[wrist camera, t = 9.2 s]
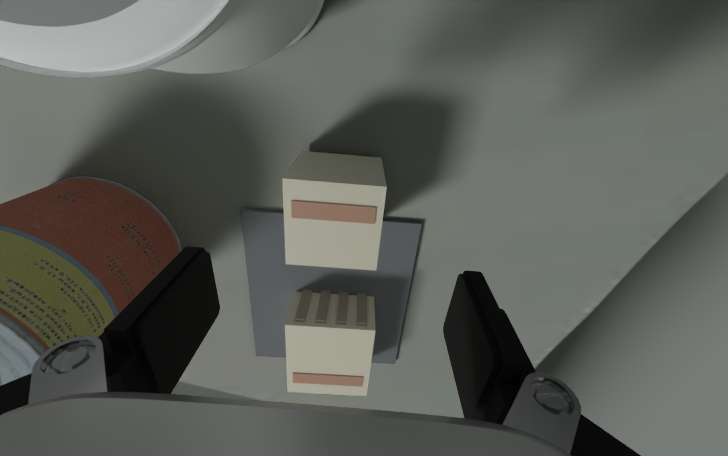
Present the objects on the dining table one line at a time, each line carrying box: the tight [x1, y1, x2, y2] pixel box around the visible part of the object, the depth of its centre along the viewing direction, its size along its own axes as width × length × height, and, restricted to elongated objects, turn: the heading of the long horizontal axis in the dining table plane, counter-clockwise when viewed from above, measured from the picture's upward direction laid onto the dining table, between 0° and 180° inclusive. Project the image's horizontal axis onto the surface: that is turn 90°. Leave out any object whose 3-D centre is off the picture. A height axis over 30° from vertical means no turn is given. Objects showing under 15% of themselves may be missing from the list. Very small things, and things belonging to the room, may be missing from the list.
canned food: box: [0, 176, 182, 386], centre depth 20 cm, size 11×11×12 cm
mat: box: [241, 208, 422, 364], centre depth 28 cm, size 14×16×1 cm
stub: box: [282, 151, 387, 271], centre depth 20 cm, size 6×5×6 cm
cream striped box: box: [285, 289, 376, 396], centre depth 27 cm, size 7×8×4 cm
